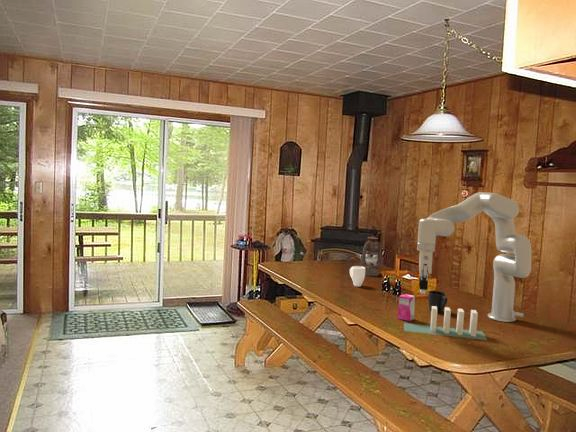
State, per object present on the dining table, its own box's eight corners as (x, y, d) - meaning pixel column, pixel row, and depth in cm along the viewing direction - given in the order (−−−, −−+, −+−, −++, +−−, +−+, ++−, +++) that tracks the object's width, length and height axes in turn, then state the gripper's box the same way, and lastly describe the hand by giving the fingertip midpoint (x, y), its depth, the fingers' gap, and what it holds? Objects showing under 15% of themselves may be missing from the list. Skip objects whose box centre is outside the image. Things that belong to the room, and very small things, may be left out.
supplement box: (402, 317, 235) (404, 293, 234) (414, 319, 231) (415, 296, 230) (397, 319, 231) (398, 295, 230) (408, 322, 227) (410, 298, 226)
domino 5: (474, 332, 215) (475, 310, 214) (476, 336, 209) (477, 313, 209) (469, 332, 215) (471, 309, 214) (471, 335, 210) (472, 313, 209)
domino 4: (460, 331, 216) (462, 308, 215) (462, 335, 211) (464, 312, 210) (456, 330, 216) (457, 308, 216) (457, 334, 211) (459, 311, 210)
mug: (437, 315, 240) (438, 296, 239) (424, 309, 252) (425, 290, 251) (452, 315, 242) (453, 296, 242) (438, 308, 254) (439, 290, 253)
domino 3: (447, 329, 217) (449, 307, 216) (449, 333, 212) (450, 310, 211) (443, 329, 218) (444, 307, 217) (444, 333, 212) (445, 310, 211)
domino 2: (434, 328, 218) (436, 306, 217) (435, 332, 213) (437, 309, 212) (430, 327, 219) (431, 305, 218) (431, 331, 213) (432, 309, 213)
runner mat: (482, 332, 217) (482, 331, 217) (487, 340, 205) (487, 340, 205) (403, 323, 224) (403, 322, 224) (403, 331, 213) (404, 330, 213)
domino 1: (424, 290, 218) (426, 268, 217) (425, 293, 213) (427, 270, 212) (420, 290, 219) (421, 268, 218) (420, 293, 213) (422, 270, 213)
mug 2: (367, 286, 297) (368, 268, 296) (356, 287, 293) (357, 268, 292) (354, 282, 308) (355, 264, 307) (344, 283, 304) (345, 265, 303)
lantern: (356, 273, 337) (359, 222, 334) (375, 272, 344) (378, 222, 342) (365, 276, 328) (368, 224, 325) (385, 275, 335) (388, 224, 332)
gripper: (436, 250, 205) (433, 293, 206) (433, 245, 222) (430, 284, 223) (417, 249, 207) (414, 291, 208) (416, 244, 223) (413, 283, 225)
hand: (423, 287), depth 216 cm, fingers closed on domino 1, 5 cm apart
